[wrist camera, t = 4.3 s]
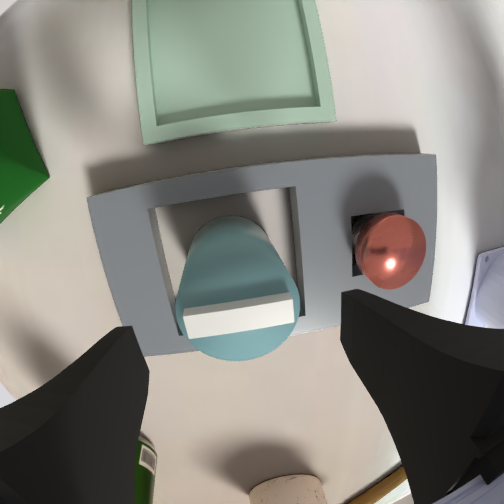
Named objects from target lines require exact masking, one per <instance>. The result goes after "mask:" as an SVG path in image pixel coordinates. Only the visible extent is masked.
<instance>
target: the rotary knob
mask: <svg viewBox="0 0 504 504" xmlns="http://www.w3.org/2000/svg"><path fill="white" fill-rule="evenodd" d="M175 310H176V318H177V322H178V325H179V328H180V330H181V331H182V333H183V335H184V336H185V338H186V339H187V340H188V341H189V342H190V343H191V344H192V345H193V346H194V347H195V348H197V349H198V350H199V351H201V352H203V353H204V354H207V355H209V356H211V357H214V358H217V359H221V360H227V361H244V360H250V359H255V358H258V357H261V356H263V355H265V354H268V353H269V352H271V351H273V350H275V349H276V348H277V347H279V346H280V345H281V344H282V343H283V342H284V341H285V340H286V339H287V338H288V337H289V335H290V334H291V332H292V331H293V329H294V327H295V325H296V323H297V320H298V317H299V312H300V297H299V293H298V289H297V287H296V284H295V282H294V280H293V279H292V277H291V275H290V274H289V272H288V270H287V268H286V267H285V265H284V263H283V262H282V260H281V258H280V257H279V255H278V253H277V252H276V250H275V248H274V247H273V245H272V243H271V241H270V240H269V238H268V236H267V235H266V233H265V232H264V231H263V230H262V228H261V227H259V226H258V225H257V224H256V223H254V222H253V221H251V220H249V219H246V218H243V217H239V216H223V217H219V218H216V219H213V220H211V221H209V222H208V223H206V224H205V225H204V226H203V227H201V228H200V229H199V231H198V232H197V233H196V235H195V236H194V238H193V240H192V242H191V245H190V249H189V253H188V256H187V260H186V264H185V267H184V271H183V275H182V279H181V282H180V286H179V290H178V294H177V298H176V306H175Z"/></svg>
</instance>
